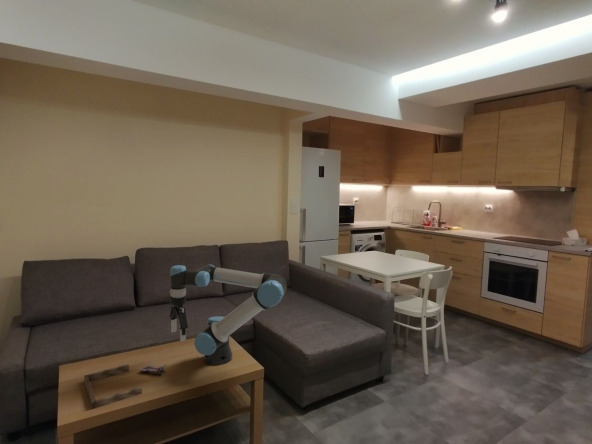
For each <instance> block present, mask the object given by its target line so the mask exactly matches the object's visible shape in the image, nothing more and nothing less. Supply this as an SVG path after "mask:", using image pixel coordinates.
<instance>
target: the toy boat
mask: <svg viewBox="0 0 592 444" xmlns="http://www.w3.org/2000/svg"><path fill="white" fill-rule="evenodd" d="M166 366H167V365H165V364H163V365H162V366H159V367H156V366H153V365H148V366H147V365H146V366H143V368H139V371H141V372H148V373H149V374H152V375H157V376H162V375H163V374H166V373H165V372H166V370H164V368H165V367H166Z"/></svg>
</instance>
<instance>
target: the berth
mask: <svg viewBox="0 0 592 444" xmlns="http://www.w3.org/2000/svg"><path fill="white" fill-rule="evenodd" d="M126 372H127V373H128V372H130V365H129V363H128V364H124V365H119V366H116V367H113V368H108V369H104V370H101V371H97V372H93V373H92V372H91V373H89V374H85V375H83V381H84V385H85V386H84V387H85V389H86V393H87V396H88V398H89V402H90V405H91V409H92V410H95V409H98V408H101V407H104V406H106V405H110V404H113V403H117V402H119V401H123V400H126V399H129V398H132V397H136V396H138V395H142V394H143V388H142V386H139V387H135V388H132V389H129V390H126V391H122V392H119V393H116V394H112V395H109V396H105V397H102V398H99V399H96V397H95V393H94V389H93V387H92V384H91V382H93V381H96V380H97V381H99V380H101V379H105V378H109V377H111V376H116V375H119V374H123V373H126Z"/></svg>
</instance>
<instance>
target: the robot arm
mask: <svg viewBox="0 0 592 444" xmlns="http://www.w3.org/2000/svg"><path fill="white" fill-rule="evenodd" d="M169 274H170V275H169V277H170V290H169V294H170V305H171V307H170V311H169V318H170V322H171V323H170V325H171V326H170V328H171V330H170V333H176V332H178V331H177V330H178V324H177V323H178V322H179V324H180V325H179V326H180V328H179V335H180V336H179V342H185V341H187V329H189V327H188V321H187V319H188V318H187V313H186V307H184V305H185V304H186V303H187V286H192V287H201V288H202V287H207V286H208V285H209V283H210V281H211V282H217V283H224V284H228V285H229V284H230V285H236V286H242V287H247V288H254V290H253V291H252V294H251V296H250V297H249V298H248V299H246V300H245V301H243V302H242V303H241V304H239V305H238V306H236V307H235V308H234V309H233V310H232V311H230V312H229V313H227V315H225V316H217V315H216V316H210V317H209V318H207V322H206V323H207V326H205V328H204V329H203V330H201V331H200V332H199V333H198V334H196V337H195V338H194V344H193V345H194V348H195V350H196V351H197V352H198V353H199V354H200V355H201V356H202V355H203V357H204V362H205V363H206V364H208V365H212V366H220V365H225V364H228V363H229V362H231V361H232V359H233V350H232V348H231V345H230V335H232V334H233V333H234V332H236V331H237V330H238V329H239V328H241V327H242V326H243V325H245V323H248V322H249V321H250V320H251V319H253V318H254V317H255V316H256V315H257V314H259V313H260V312H262V311H268V310H269V309H271V308H272V307H275V306H276V305H278V304H279V303H280V302H281V301H282V299H283V298H284V295H285V294H286V292H287V289H288V284H287V281H286V280H285V278H284V277H283V276H281V275H279V274H275V273H268V272H264V273H262V274H261V273H254V272H249V271H248V272H247V271H242V270H237V269H235V270H234V269H229V268H222V267H216V266H215V265H213V264H205V265H203V266H202V267H200V268H198V269H196V270H190V269H189V270H188V269H187V267H186V265H180V264H179V265H178V264H177V265H173V266H171V268H170V273H169ZM177 321H178V322H177Z"/></svg>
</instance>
